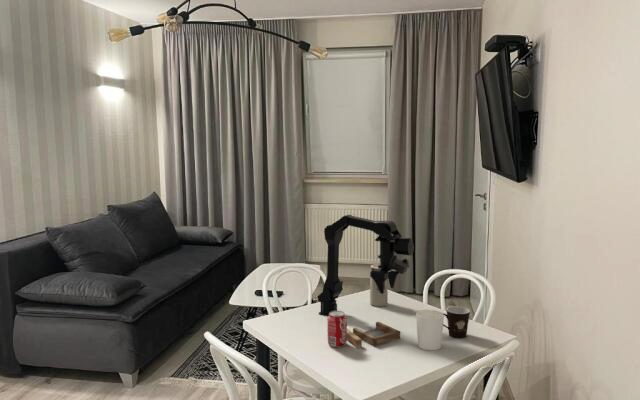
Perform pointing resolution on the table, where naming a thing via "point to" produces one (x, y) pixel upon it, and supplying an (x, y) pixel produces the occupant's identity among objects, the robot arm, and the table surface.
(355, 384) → the table surface
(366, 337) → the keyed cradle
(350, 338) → the door edge rail
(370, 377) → the table surface
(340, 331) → the soda can
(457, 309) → the coffee mug
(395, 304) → the table surface
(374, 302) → the travel mug
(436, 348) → the candle holder
